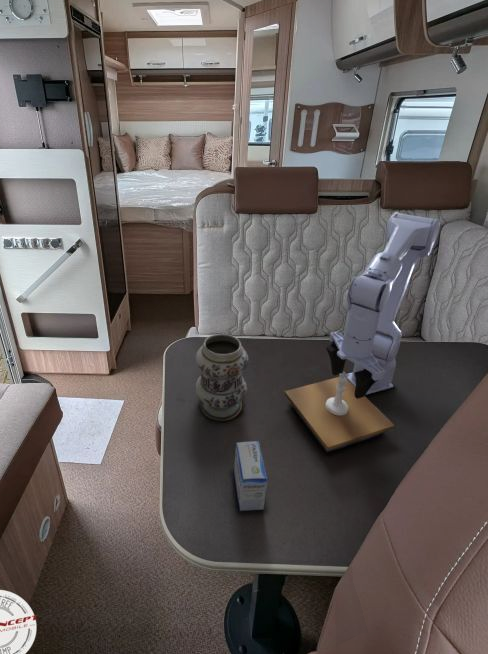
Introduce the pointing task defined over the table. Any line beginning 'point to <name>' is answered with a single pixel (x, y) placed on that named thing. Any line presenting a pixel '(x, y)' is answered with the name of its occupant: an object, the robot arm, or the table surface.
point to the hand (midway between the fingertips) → (347, 384)
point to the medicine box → (250, 476)
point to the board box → (337, 428)
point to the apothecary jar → (221, 376)
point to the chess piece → (338, 398)
